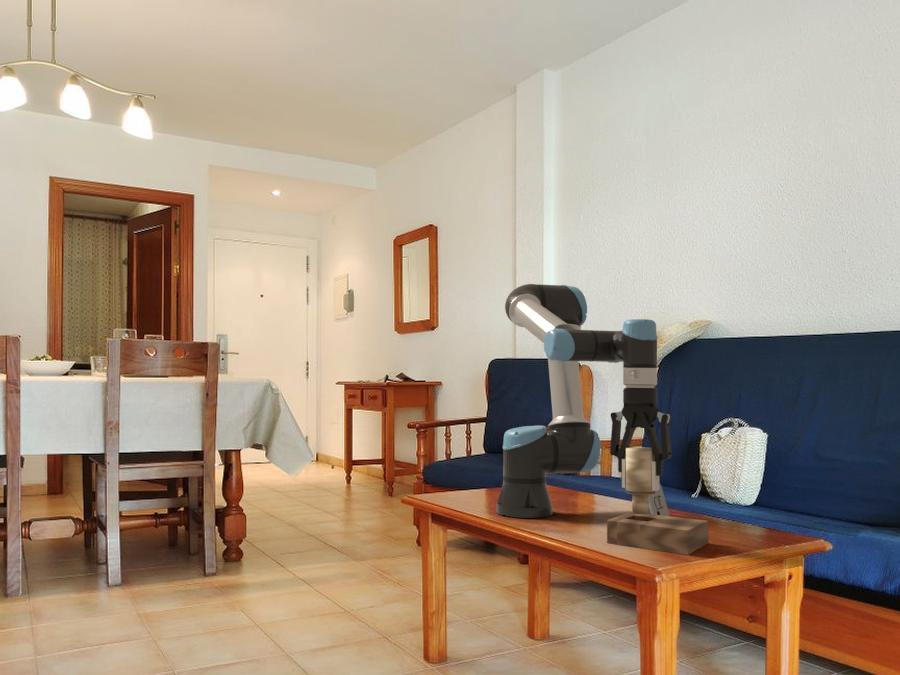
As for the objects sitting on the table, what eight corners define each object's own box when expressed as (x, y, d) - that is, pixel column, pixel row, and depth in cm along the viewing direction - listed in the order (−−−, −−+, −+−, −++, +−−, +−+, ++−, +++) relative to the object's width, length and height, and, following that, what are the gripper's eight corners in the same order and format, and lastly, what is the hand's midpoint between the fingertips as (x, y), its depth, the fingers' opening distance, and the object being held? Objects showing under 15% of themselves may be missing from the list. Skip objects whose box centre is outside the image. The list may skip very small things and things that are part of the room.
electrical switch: (656, 524, 187) (652, 487, 188) (636, 523, 190) (633, 487, 191) (670, 519, 194) (667, 483, 195) (651, 518, 198) (648, 483, 199)
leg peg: (621, 513, 167) (621, 448, 167) (632, 509, 172) (632, 446, 173) (649, 516, 163) (648, 450, 164) (659, 512, 168) (659, 448, 169)
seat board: (607, 542, 164) (607, 520, 165) (631, 532, 176) (631, 511, 176) (687, 555, 154) (687, 530, 154) (708, 543, 165) (708, 520, 165)
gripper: (594, 386, 172) (594, 486, 170) (676, 387, 160) (676, 494, 159) (607, 386, 178) (607, 483, 176) (687, 387, 166) (688, 490, 165)
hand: (640, 488), depth 168 cm, fingers closed on leg peg, 6 cm apart
